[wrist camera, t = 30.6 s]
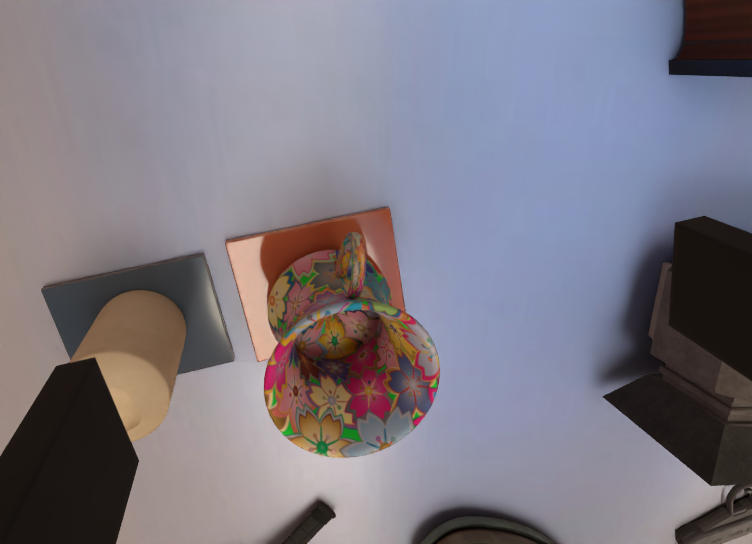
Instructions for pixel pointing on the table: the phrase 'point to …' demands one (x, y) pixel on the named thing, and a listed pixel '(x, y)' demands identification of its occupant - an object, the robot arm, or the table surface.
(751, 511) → the handgun
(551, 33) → the table surface
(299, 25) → the table surface
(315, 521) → the knife
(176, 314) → the candle
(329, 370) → the mug
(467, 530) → the loafer
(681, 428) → the machine
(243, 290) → the mug tile
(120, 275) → the candle tile
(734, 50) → the book
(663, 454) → the table surface
